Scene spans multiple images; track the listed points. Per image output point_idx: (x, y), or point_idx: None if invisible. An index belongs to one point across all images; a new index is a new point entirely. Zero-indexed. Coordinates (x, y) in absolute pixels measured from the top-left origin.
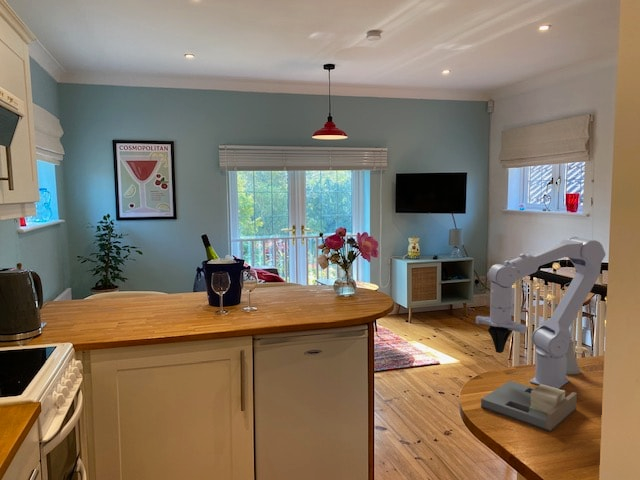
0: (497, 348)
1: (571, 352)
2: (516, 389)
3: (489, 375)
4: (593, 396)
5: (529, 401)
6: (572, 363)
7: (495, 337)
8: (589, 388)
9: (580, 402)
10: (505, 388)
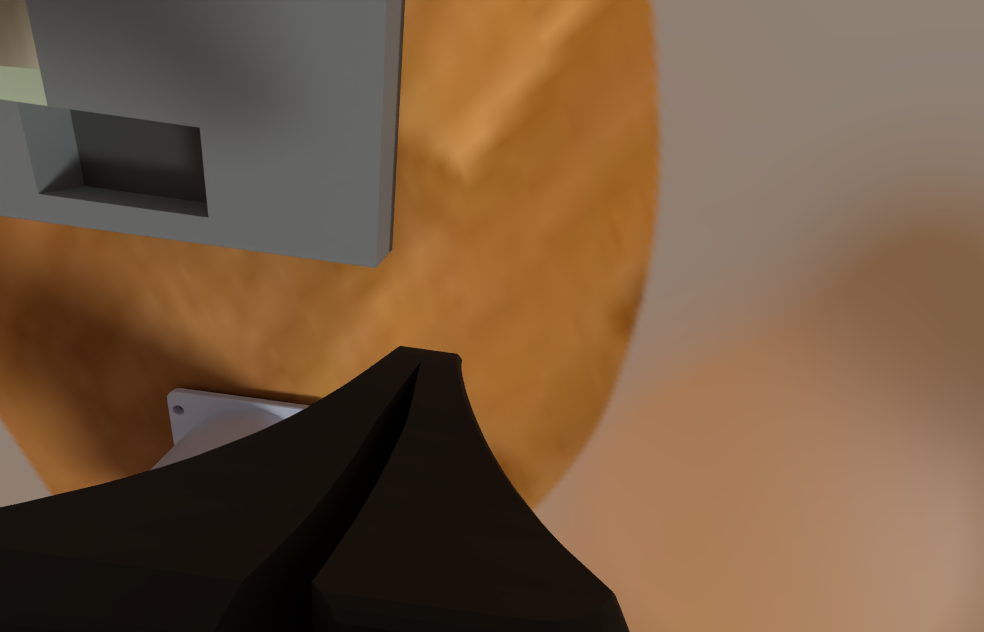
0: (418, 369)
1: None
2: (259, 128)
3: (582, 383)
4: (12, 416)
5: None
6: None
7: (395, 473)
8: None
9: (3, 305)
10: (333, 88)
